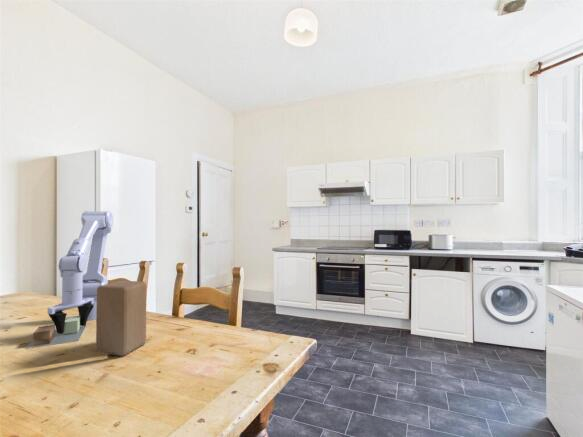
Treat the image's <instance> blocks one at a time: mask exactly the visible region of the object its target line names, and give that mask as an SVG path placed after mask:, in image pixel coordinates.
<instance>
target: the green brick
mask: <svg viewBox="0 0 583 437" xmlns="http://www.w3.org/2000/svg"><path fill="white" fill-rule="evenodd" d="M80 319H81V316H79V315H75V316H66V318H65V323H64V333H63V334H69V333H76V332H78V330H79V329H80Z"/></svg>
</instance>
